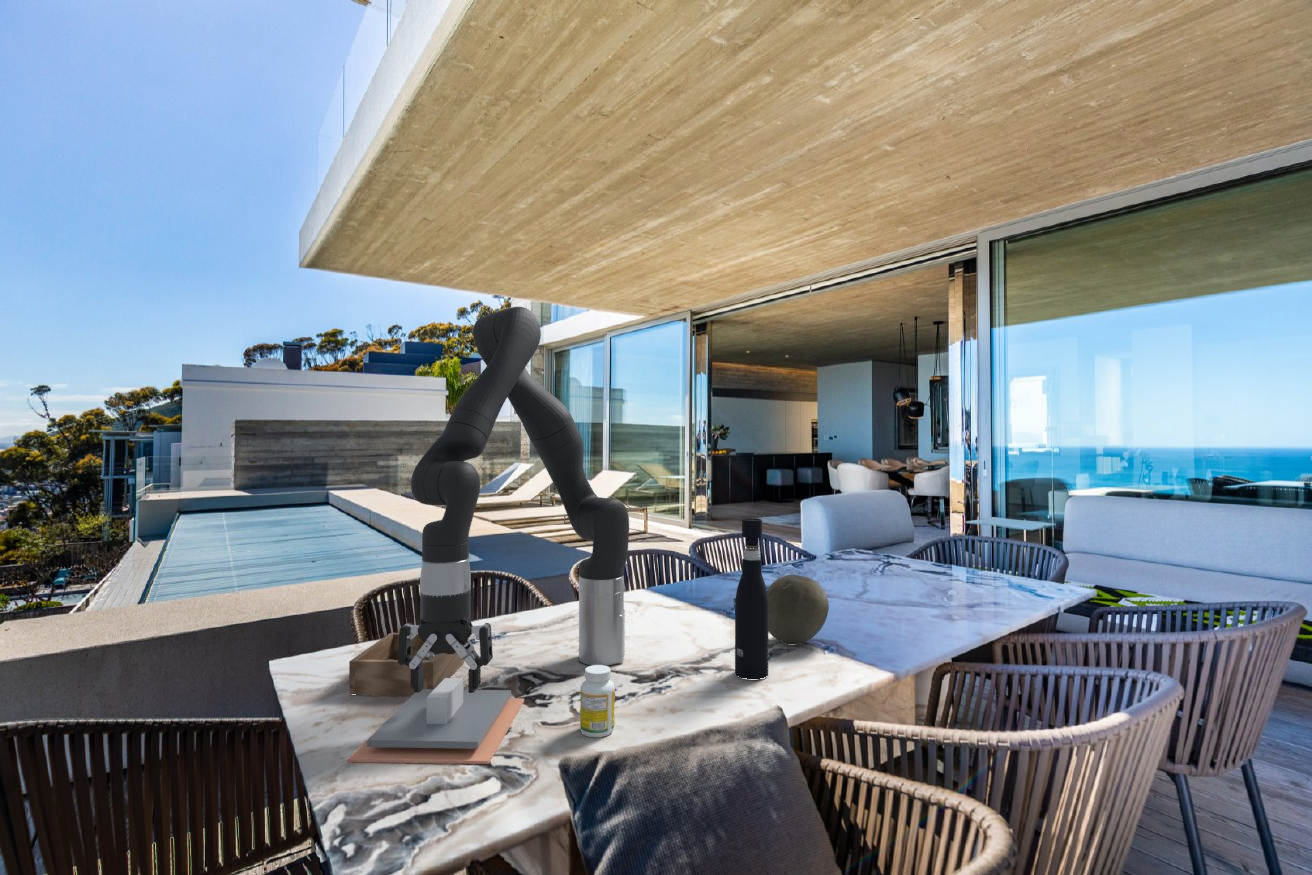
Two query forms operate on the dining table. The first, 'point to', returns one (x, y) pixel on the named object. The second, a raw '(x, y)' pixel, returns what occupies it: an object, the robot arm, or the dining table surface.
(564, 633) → the dining table surface
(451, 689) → the lid
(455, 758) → the mat
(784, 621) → the cantaloupe
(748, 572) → the black water bottle
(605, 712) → the supplement bottle
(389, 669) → the box
